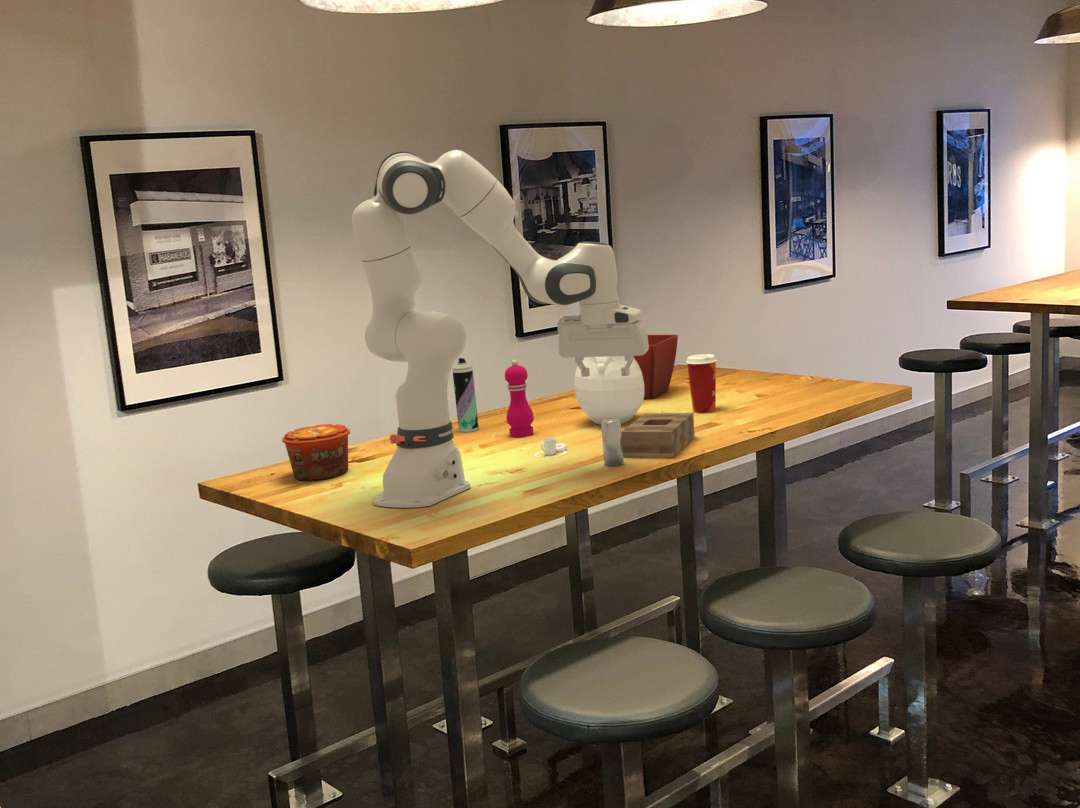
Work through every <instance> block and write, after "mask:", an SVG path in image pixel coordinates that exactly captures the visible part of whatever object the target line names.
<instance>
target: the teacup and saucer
mask: <svg viewBox="0 0 1080 808" xmlns="http://www.w3.org/2000/svg"><path fill="white" fill-rule="evenodd" d="M567 446H568V445H567V444H566V443H561V442H560V443H557V438H555V437H545V438H543V439H542V442H541V443H540V449H541V451H540V450H539V451H537V452H535V453H534V454H533V456H534V457H535V458H538V457H539V456H540V454H542V453H545V455H546V454H547V456H541V457H540V459H552V458H551V457H552V456H553V454H554V456H553V457H554V458H559V457H562V455H563V456H565V455H567V454H568V451H567ZM541 452H542V453H541ZM563 452H564V453H563ZM539 453H540V454H539ZM556 453H561V454H562V455H561V454H559V456H558V455H556ZM537 454H539V456H537ZM542 457H543V458H542ZM544 457H545V458H544ZM549 457H550V458H549Z"/></svg>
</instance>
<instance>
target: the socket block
mask: <svg viewBox="0 0 1080 808" xmlns="http://www.w3.org/2000/svg"><path fill="white" fill-rule="evenodd" d="M694 422H695V420H694V412H646V413H644V414H642V415H641V416H640V417H639V418H637V419H636V420H634V421H633V422H632V423H631V424H629V425H628V426H626V427H625V428H624V429H621V433H622V445H623V458H650V459H651V458H653V459H654V458H655V459H656V458H658V459H659V458H661V459H662V458H667V459H668V458H669V459H671V458H672V459H673V458H674V457H675V456H676V455H677V454H679V453H680V452H681V451H682V450H683V448H685V447H686V446H687V445H688V444H689V443H690V442H691V441H692V440H693V439H694V438H695V423H694Z"/></svg>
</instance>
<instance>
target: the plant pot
mask: <svg viewBox="0 0 1080 808" xmlns="http://www.w3.org/2000/svg"><path fill="white" fill-rule="evenodd" d="M647 337H648V344H649V349H648V351H647V352H646V353H645V354H644V355H642V356H633V357H634V359H635V360H636V361H637V363H638V365H639V367H640V369H641V372H642V376H643V381H644V398H643V400H651V399H654V398H656V397H658V396H660V395H662V394H664V393H666V392H668V391H669V388H670V384H671V380H672V376H673V373H674V367H675V363H676V358H677V357H676V355H677V349H678V348H677V347H678V340H679V334H647Z"/></svg>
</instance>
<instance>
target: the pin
mask: <svg viewBox="0 0 1080 808" xmlns="http://www.w3.org/2000/svg"><path fill="white" fill-rule="evenodd" d="M600 426H601V428H600V429H601V438H602V439H601V441H602V451H603V461H604V463H603V465H604V466H605V467H610V468H611V467H614V468H615V467H620V466H622V465H624V464H625V461H624V458H625V457H623V445H622V433H621V431H622V424H621V420H620V419H606V420H602V421H601V425H600Z"/></svg>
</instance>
